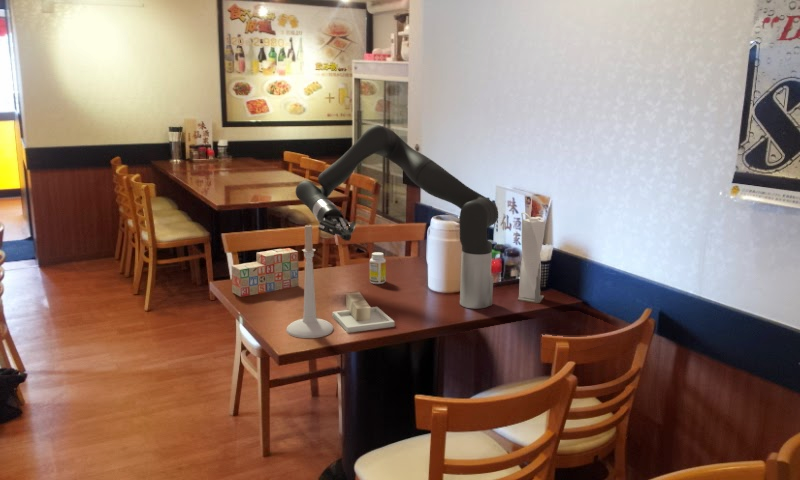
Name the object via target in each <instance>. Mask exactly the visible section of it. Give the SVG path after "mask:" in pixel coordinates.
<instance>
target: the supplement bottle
mask: <svg viewBox="0 0 800 480" xmlns="http://www.w3.org/2000/svg"><path fill="white" fill-rule="evenodd" d="M386 261H387V260H386V258H385V257H384V253H383V252H378V251H377V252H372V253H371V258H370V259H369V282H370V283H371V284H374V285H380V284H381V285H383V284H384V283H386V278H387V277H386V276H387V275H386V274H387V273H386V272H387V271H386V270H387V269H386V268H387V265H386V264H387V262H386Z"/></svg>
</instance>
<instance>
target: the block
mask: <svg viewBox="0 0 800 480" xmlns="http://www.w3.org/2000/svg"><path fill="white" fill-rule="evenodd" d="M345 299H346V300H345V307H346V308H347V310H349V311H350V312H351V314H352V315H353V317H354V318H355V320H356V321H364V320H370V307H371V306H370V305H369V303H368V302H367V301H366V299H365V297H364V296H363V294H361V292H360V291H357V292H347V293H346V298H345Z"/></svg>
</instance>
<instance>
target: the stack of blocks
mask: <svg viewBox="0 0 800 480" xmlns="http://www.w3.org/2000/svg"><path fill="white" fill-rule="evenodd" d="M255 253H256V261H252V262H244V263H240V264H239V263H238V264H232V265H231V289H232V290H231V292H232V293H233V294H235V295H237V296H238V297H240V298H241V297H242V298H243V297H247V296H253V295H258V294H264V293H269V292H274V291H279V289H280V290H284V289H290V288H294V287H299V251H298V250H295V249H293V248H290V247H287V248H277V249H271V250H266V251H260V252H258V251H257V252H255Z"/></svg>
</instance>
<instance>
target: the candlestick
mask: <svg viewBox="0 0 800 480" xmlns="http://www.w3.org/2000/svg"><path fill="white" fill-rule="evenodd" d="M304 243H305V244H304V248H303V249H301V251H303V252H302V253H303V256H304V258H305V263H304V264H305V266H304V268H305V269H304V292H303V317H302V318H299V319H296V320H294V321H292V322H291V323H289V324H288V326H287V327H286V333H287V335H290V336H292V337H295V338H299V339H316V338H322V337H326V336H328V335H330V334H331V333H333V331H334V326H333V324H332V323H331V322H329V321H327V320H325V319H323V318H317V309H316V297H315V296H316V295H315V279H314V277H315V276H314V262H313V257H315V254H314V253H315V251H316V248H313V226H312V225H311V224H307V225H304Z"/></svg>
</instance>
